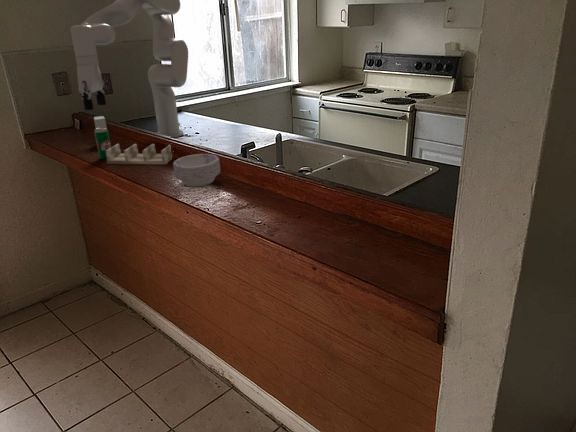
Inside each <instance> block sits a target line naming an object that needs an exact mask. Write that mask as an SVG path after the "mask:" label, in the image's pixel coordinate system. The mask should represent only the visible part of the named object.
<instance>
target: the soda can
mask: <svg viewBox="0 0 576 432" xmlns="http://www.w3.org/2000/svg"><path fill="white" fill-rule="evenodd" d="M94 138H95V142H96V147H97V153H98V156H99V157H98V158H99V159H100V160H102V161H105V160H106V161H107V156H106V150H108V149H109V148H111V147H112V146H111V140H110V134H109V130H108V127H107V128H105V127H101V128H96V127H95V128H94Z"/></svg>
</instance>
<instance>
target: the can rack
mask: <svg viewBox="0 0 576 432" xmlns="http://www.w3.org/2000/svg"><path fill="white" fill-rule="evenodd" d="M155 145H156V144H155V143H151V144H150V145H148V146H147V147H145V148H144V149H143V150H142V151H141V152H142V153H139V149H138V144H137V143H134V144H132V145H130V146H129V147H128V148H126V149H124V150H123V153H122V152H121V145H120V143H116V144H115V145H113V146H111V148H109V149H108V150H106V156H107V160H106V164H107V165H167V164H168V163H169V162H171V160H173V159H172V153H171V145H170V144H168V145H167V146H165V148H163V149H162V150H160V153H157V151H156V146H155Z"/></svg>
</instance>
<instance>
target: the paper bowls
mask: <svg viewBox="0 0 576 432" xmlns="http://www.w3.org/2000/svg"><path fill="white" fill-rule="evenodd" d="M220 163H221V162H220V157H219V156H217V155H215V154H211V153H196V154H189V155H186V156H182V157H179V158H177V159H176V160H174V161H173V163H172V167H173V172H174V177H175V178H176V179H177V180H179V181H181V182H182V183H183V185H185V186H187V187H192V188H194V187H205V186H208V185H210V184H212V183H213V182H214V181H215V179H216V177H217V176H218V175H220V173H221V165H220Z"/></svg>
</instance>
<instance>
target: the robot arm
mask: <svg viewBox="0 0 576 432" xmlns="http://www.w3.org/2000/svg"><path fill="white" fill-rule="evenodd" d="M180 9H181V2H180V0H115V1H114V2H113V3H112V4H110V5H108V6H106V7H104V8H102V9H101V10H98V11H97V12H95V13H93V14H91V15H90V16H89V17H88V18H86V20H84V21H83V22H82V23H81V24H75V25H72V26H71V27H70V33H71V38H72V39H71V40H72V44H73V50H74V54H75V60H76V65H77V66H76V74H77V83H78V92H79V94H80V96H81V99H82V101H83V107H84V110H85V111H93V110H94V104H93V99H92V97H91V96H92V94H93V93H96V95H95V96H96V102H97V105H98V106H106V105H107V101H106V97H105V94H106V92H105V89H106V88H105V82H104V80H103V78H102V72H101V70H100V66H99V64H100V63H99V59H98V58H99V57H98V51H97V47H96V45H98V46H99V45H100V46H102V45H103V46H106V45H110V44H113V42H114V41H115V39H116V31H115V29H114V28H115V27H116V28H118V27H120V26H121V27H122V26H123V25H126V24H128V23H130V22H131V21H132V19H134V17H136V16H137V15H138V14H139V13H140V12H141V11H142V10H144V11H145V12H146V13H147V15H148V16H149V18H150V19H151V21H152V23H153V41H152V42H153V43H152V54H153V57H154V59H156V60H157V61H161V62H170V64H168V63H155V64H152V65H151V66H150V67H149V69H148V70H147V78H148V82H149V85H150V88H151V91H152V96H153V104H154V110H155V118H156V125H157V132H156V133H159V134H163V135H167V136H171V137H175V138H178V137H181V136H183V135H184V131H183V130H181V129H180V126H181V123H180V122H179V116H178V108H177V101H176V94H175V92H174V90H173V88H181V87H183V86H184V85H185V84H186V82H187V77H188V66H189V65H188V64H189V49H188V44H187V43H186V41H184V40H183V39H181V38H178V37H175V27H174V24H173V21H172V19H171V18H170V16H169V15H175V14H178V12H179V11H180Z"/></svg>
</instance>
